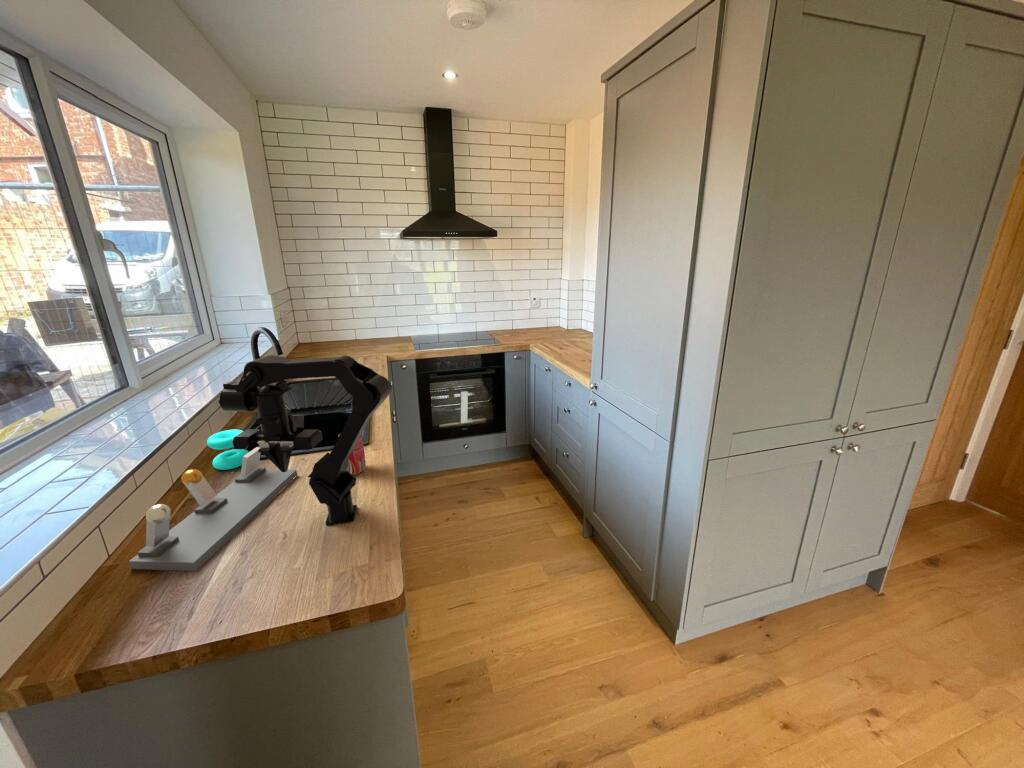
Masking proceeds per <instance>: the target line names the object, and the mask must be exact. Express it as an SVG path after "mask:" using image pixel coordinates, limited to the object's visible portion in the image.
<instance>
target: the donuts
mask: <svg viewBox="0 0 1024 768" xmlns="http://www.w3.org/2000/svg"><path fill="white" fill-rule="evenodd" d="M243 431H244V430H241V429H235V428H234V429H228V430H222V431H219V432H216V433H214V434H212V435H210V436H209V437H208V439H207V441H206V444H207V446H208V447H209V448H211V449H213V450H221V451H222V450H226V451H224V452H221V453H219V454H217V455H216V456H215V457H214V458H213V460H212V466H213V467H214V468H215V469H216V470H219V471H228V470H232V469H237V468H239V466H240V467H242V460H243V456H244V455H246V454H247V453H249V452H250V451H249V450H247V449H234V447H233V443H232V441H233V438H234V437H235V436H237V435H238V434H240V433H242V432H243ZM231 448H233V449H231ZM228 449H229V450H228Z"/></svg>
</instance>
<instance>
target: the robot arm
mask: <svg viewBox="0 0 1024 768" xmlns="http://www.w3.org/2000/svg"><path fill="white" fill-rule="evenodd" d="M330 377H331V378H333V377H334V378H336V380H338V381H339V382H340V384H341V385H342V387H343V388H344V390H345V391H346V392H347V393H348V394H349V395H350V396H352V400H351V413H350V414H349V416H348V418H347V420H346V422H345V424H344V426H343V428H342V430H341V432H340V433H339V434H340V435H339V434H338V436H339V437H338V436H337V440H336V442H335V443H334V445H333V447H332V448H331V449H332V450H331V451H330V452H327V453H325V454H324V455H323V456H322V457H321V458H320V459H318V460H317V461H316V462H315V463H314V465H313V467H312V471H311V473H310V474H308V475H307V477H308V478H309V481H308V485H309V486H310V488H311V490H312V492H313V493H314V496H315V497H316V498H317V500H318V502H319V504H321V505H325V506H327V507H326V508H327V512H328V513H327V517H326V520H325V523H324V524H325V525H326V526H332V525H337V524H343V523H345V524H346V523H350V522H354V521H355V519H356V513H357V511H358V510H357V509H358V505H357V504H354V503H353V497H352V492H351V490H352V489H353V488H354V487H355V486H356V483H357V477H356V476H355V475H352V474H350V473H349V472H348V471H347V468H348V458H349V456H350V454H351V453H352V451H353V449H354V447H355V445H356V443H357V441H358V440H359V438H360V436H361V437H362V435H363V432H364V430H365V428H366V427H367V424H368V423H369V421H370V419H371V417H372V415H373V414H374V413H375V412H376V411H377V410H378V408H379V407H380V406H382V404H383V403H384V402H385V401H386V400H387V398H388V397H389V396H390V394H391V393H392V390H393V389H392V385H391V382H390V381H389V379H388V378H386V376H384V375H380V374H378V372H376V371H375V370H374V369H372V368H370V367H368V366H366V365H364V364H362V363H360V362H358V361H357V360H356V359H354V358H353V357H351V356H348V355H341V356H334V357H333V356H332V357H317V358H315V357H312V358H300V359H297V358H296V359H294V358H293V359H290V358H287V357H286V356H281V355H280V356H279V355H271V354H270V355H265V356H262V357H260V358H257V359H256V358H255V359H254V360H252V361H251V360H250V361H248V362H246V363H245V365H244V367H243V375H242V376H241V377H240V380H239V382H237V381H233V380H232V381H231V380H229V381H227V382H223V384H222V387H223V389H222V390H221V391H220V394H219V399H218V404H219V406H220V408H221V409H222V410H224V411H225V412H253V411H256V410H257V414H258V415H257V416H258V418H256V419H255V424H256V425H260V429H259V428H252V429H250V428H249V429H248V428H247V429H245V430H242V431H243V432H242V433H240V434H238V435H237V436H235V437H234V438H233V441H232V443H233V447H232V448H233V449H244V450H247V448H248V447H249V446H250V444H252V443H253V444H258V447H260V449H259V450H258V452H259V453H261V454H263V456H265V457H266V458H267V459H268V460H269V461H271V462H272V463H273V464H274V466H276V467H277V470H280V471H281V472H286V471H287V470H289V465H290V461H291V456H292V452H293V450H294V449H296V450H298V451H309V450H312V449H314V448H315V447H316V446H317V445H319V443H321V442H322V441H323V440H324V437H323V433H322V431H321V430H319V429H315V428H314V429H303V428H304V427H305V426H304V425H305V424H304V422H305V419H304V417H305V414H304V415H303V414H293V413H292V412H291V410H287V405H286V401H285V395H284V394H286V393H287V394H288V392H290V391H292V390H293V387H292V386H290V385H288V384H286V383H285V382H284V381H286V380H291V379H293V380H294V379H295V380H296V379H312V378H313V379H314V378H330ZM361 381H363V382H361ZM297 428H302V429H303V430H302V431H301V432H299V433H294V432H296V431H297V430H298V429H297Z"/></svg>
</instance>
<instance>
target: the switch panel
mask: <svg viewBox="0 0 1024 768" xmlns="http://www.w3.org/2000/svg"><path fill="white" fill-rule="evenodd" d="M295 476H297V477H298V472H297V469H288V470H287V471H286V472H281V471H280V470H279V469H266V467H263V466H262V467H260V466H258V467H257V468H255V469H254V470H253V471H251V472H250V473H249V474H248V475H246V476H242V475H241V474H240V475H238V476H237V477H236V478H235V479H234V481H233V482H232V483H230V484H229V485H228V486H226V487H225V488H223V489H222V490H221V491H220V492H218V493H216V494H217V496H216V497H214V498H213V499H212V500H210V501H209V502H208V503H206V504H204V505H202V506H200V505H198V506H197V507H196V508H194V509H193V512H192V513H190V514H189V515H188V516H186V517H185V518H184V519H182V520H181V521H180V522H178V523H177V524H175V525H174V526H173V527H172V528H171V529H169V537H167V538H166V539H165V540H163V541H162V542H161V543H159V544H158V545H157V546H156V547H151V546H147V545H145V546H144V547H142V548H141V549H139V550H138V551H137V554H136V555H135V556H134V557H132V558H131V559H130V560H128V563H129V565H130V568H131V570H151V571H152V570H153V571H154V570H155V571H156V570H157V571H159V570H160V571H162V570H163V571H197V570H198V569H199V568H200V567H202V566H203V565H204V564H205V563H206V562H207V561H208V560H209V559H210V558H211V557H212V556H213V555H215V553H217V552H218V551H219V549H220V550H221V548H222V547H223V546H224V545H225V544H226V543H228V542H229V541H230V539H232V538H233V537H234V536H235V535H236V534H237V533H238V532H239V531H240V530H242V528H244V526H245V525H247V524H248V523H249V522H250V521H251V520H252V519H253V518H254V517H255V516H257V514H258V513H259V512H260V511H261V510H263V509H264V508H265V507H266V506H267V505H268V504H269V503H270V502H271V501H272V500H273V499H274V498H276V497H277V495H278V493H279V492H280V491H281V490H282V489H283V488H284V487H285V486H286V485H287V484H288V485H290V483H291V482H293V481H294V480H293V478H294V477H295ZM290 481H291V482H290ZM288 485H287V486H288ZM287 486H286V487H287ZM286 487H285V488H286ZM285 488H284V489H285ZM284 489H283V490H284ZM283 490H282V491H283ZM282 491H281V492H282ZM281 492H280V493H281ZM280 493H279V494H280Z"/></svg>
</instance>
